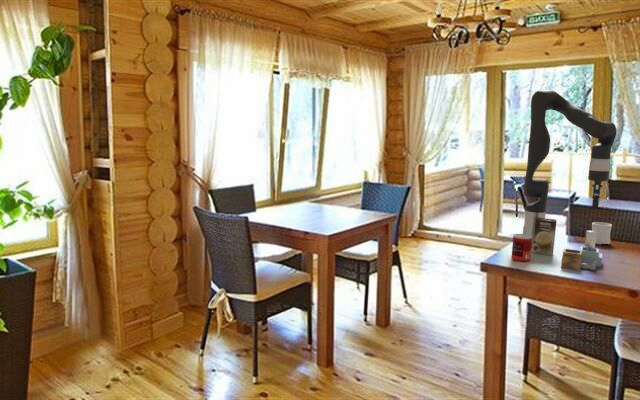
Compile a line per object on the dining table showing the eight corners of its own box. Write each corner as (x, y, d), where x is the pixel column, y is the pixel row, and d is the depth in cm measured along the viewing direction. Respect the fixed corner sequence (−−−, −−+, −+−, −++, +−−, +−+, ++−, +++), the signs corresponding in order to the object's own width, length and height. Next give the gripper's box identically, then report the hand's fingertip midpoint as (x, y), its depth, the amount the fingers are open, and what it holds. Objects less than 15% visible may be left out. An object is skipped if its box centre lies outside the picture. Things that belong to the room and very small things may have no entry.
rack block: (574, 263, 214) (576, 249, 213) (575, 258, 221) (577, 245, 220) (601, 266, 209) (602, 253, 208) (601, 262, 216) (602, 249, 215)
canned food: (529, 258, 221) (531, 234, 219) (530, 263, 213) (532, 238, 212) (511, 256, 223) (512, 233, 222) (511, 261, 216) (513, 236, 214)
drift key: (569, 266, 208) (570, 259, 207) (570, 264, 211) (570, 257, 211) (595, 270, 203) (596, 263, 202) (595, 268, 207) (596, 260, 206)
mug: (613, 245, 246) (616, 225, 245) (595, 245, 247) (597, 225, 245) (600, 239, 259) (602, 220, 257) (582, 239, 259) (584, 220, 257)
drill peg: (583, 254, 214) (586, 231, 212) (584, 252, 217) (586, 230, 215) (593, 255, 212) (596, 232, 210) (594, 253, 215) (596, 231, 213)
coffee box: (531, 253, 229) (534, 219, 227) (532, 250, 235) (535, 217, 232) (553, 255, 225) (556, 221, 223) (553, 252, 231) (556, 219, 229)
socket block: (561, 267, 207) (562, 252, 206) (563, 262, 215) (564, 247, 214) (579, 270, 203) (581, 255, 202) (581, 264, 212) (582, 249, 211)
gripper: (609, 171, 201) (605, 210, 203) (609, 168, 213) (605, 205, 216) (588, 170, 204) (584, 208, 207) (589, 167, 217) (586, 203, 219)
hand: (595, 206), depth 211 cm, fingers open, 8 cm apart
